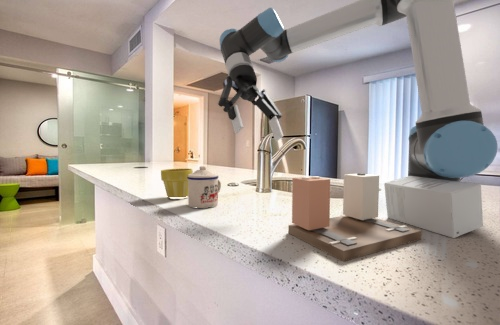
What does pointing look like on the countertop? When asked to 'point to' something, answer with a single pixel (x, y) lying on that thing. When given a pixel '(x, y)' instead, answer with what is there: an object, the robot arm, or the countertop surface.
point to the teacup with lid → (203, 188)
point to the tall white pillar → (361, 196)
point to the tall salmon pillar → (311, 202)
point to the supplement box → (435, 204)
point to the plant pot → (176, 181)
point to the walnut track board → (356, 236)
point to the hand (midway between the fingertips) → (260, 134)
